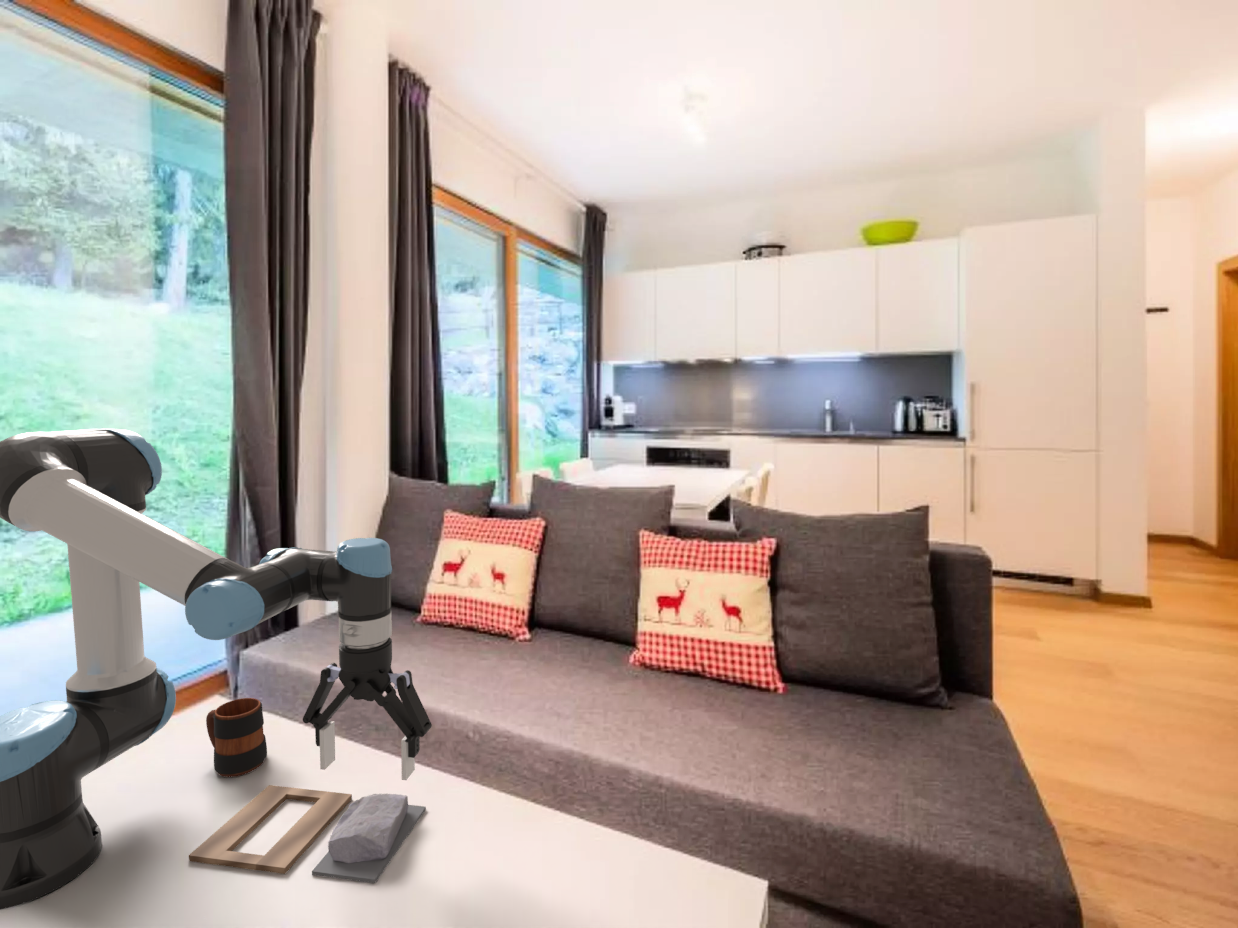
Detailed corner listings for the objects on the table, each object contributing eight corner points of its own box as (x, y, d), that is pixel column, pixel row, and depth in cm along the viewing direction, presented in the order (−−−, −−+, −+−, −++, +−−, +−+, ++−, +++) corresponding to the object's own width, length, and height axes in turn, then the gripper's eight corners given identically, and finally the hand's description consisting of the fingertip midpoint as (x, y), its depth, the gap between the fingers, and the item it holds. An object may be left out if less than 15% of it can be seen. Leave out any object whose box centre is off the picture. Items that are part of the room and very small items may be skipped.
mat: (312, 874, 89) (311, 870, 89) (371, 803, 105) (371, 800, 105) (375, 883, 88) (374, 879, 88) (425, 809, 104) (425, 806, 103)
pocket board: (189, 861, 92) (188, 855, 92) (269, 790, 108) (269, 784, 108) (285, 873, 89) (284, 867, 89) (351, 799, 106) (351, 793, 106)
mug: (230, 746, 122) (226, 690, 121) (278, 756, 119) (274, 699, 117) (189, 771, 114) (185, 712, 113) (239, 782, 110) (235, 722, 109)
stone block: (325, 875, 91) (392, 860, 91) (318, 845, 90) (384, 830, 91) (355, 822, 102) (414, 809, 103) (349, 796, 102) (407, 783, 102)
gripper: (274, 642, 91) (279, 774, 93) (431, 657, 87) (431, 794, 90) (307, 623, 98) (310, 746, 101) (453, 637, 95) (452, 764, 97)
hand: (367, 769), depth 95 cm, fingers open, 13 cm apart
